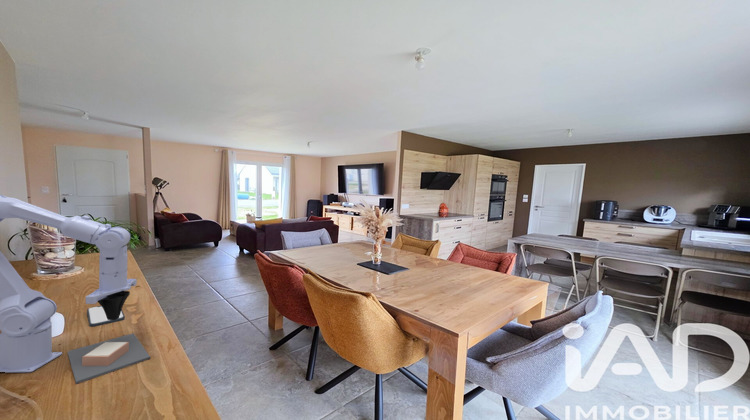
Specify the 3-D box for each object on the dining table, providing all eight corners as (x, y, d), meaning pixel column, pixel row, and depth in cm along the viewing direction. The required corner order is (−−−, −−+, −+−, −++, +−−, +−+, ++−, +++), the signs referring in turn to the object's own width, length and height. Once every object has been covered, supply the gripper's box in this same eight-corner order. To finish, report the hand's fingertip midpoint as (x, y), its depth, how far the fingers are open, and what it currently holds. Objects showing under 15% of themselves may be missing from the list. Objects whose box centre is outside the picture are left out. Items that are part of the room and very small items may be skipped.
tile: (105, 350, 79) (82, 365, 72) (105, 341, 78) (82, 356, 71) (128, 350, 79) (108, 365, 72) (128, 341, 79) (108, 356, 72)
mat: (150, 358, 77) (150, 356, 77) (76, 384, 66) (76, 381, 66) (133, 334, 88) (133, 333, 88) (67, 353, 77) (67, 351, 77)
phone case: (125, 321, 97) (119, 306, 108) (125, 317, 97) (119, 302, 108) (89, 329, 91) (86, 312, 101) (89, 325, 91) (86, 308, 101)
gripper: (107, 280, 71) (106, 331, 72) (147, 265, 86) (146, 308, 86) (76, 279, 71) (76, 331, 71) (122, 264, 85) (122, 307, 86)
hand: (113, 318), depth 79 cm, fingers closed
